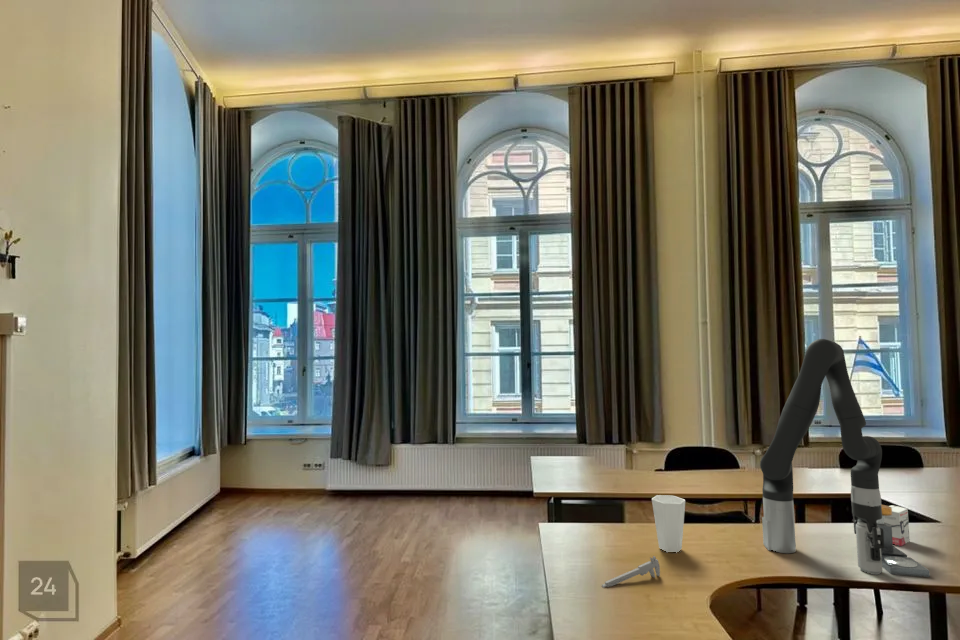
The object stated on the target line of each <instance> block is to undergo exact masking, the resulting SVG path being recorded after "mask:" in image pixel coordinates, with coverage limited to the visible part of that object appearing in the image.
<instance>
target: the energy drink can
mask: <svg viewBox="0 0 960 640" xmlns="http://www.w3.org/2000/svg"><path fill="white" fill-rule="evenodd" d="M863 526H864V527H863ZM877 526H878V525H877ZM878 528H879V527H878ZM866 531H867V532H868V534H869V536H870V537H872V532H871V533H870V532H869V531H868V527H867V523H865V522H863V521H862V520H860V519H858V522H857V524H856V534H855V538H856V554H857V566H858V568H859V569H860V571H861V570H862V571H861V572H863V571H864V572H863V573H866V572H867V573H866V574H869V573H871V574H870V575H880V574H881V572H883V567H882V555H881V549H880V559H881V560H880V561H873V560H872V559H871V551H870V543H869V541H868V540H867V539H866ZM879 541H880V540H879ZM872 542H873V540H872ZM876 544H877V543H876Z"/></svg>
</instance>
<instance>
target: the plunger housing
mask: <svg viewBox="0 0 960 640" xmlns="http://www.w3.org/2000/svg"><path fill="white" fill-rule="evenodd" d="M878 527H879V528H882V529H883V533H884V549H882V548H881V555H884V556H897V557H908V555H907V554H906V553H904V552H903V551H902V550H900V549H899V548H897V547H896V546H895V545H893V540H892V527H891V526H890V525H888V524H887V523H885V522H884V525H878Z"/></svg>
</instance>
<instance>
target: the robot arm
mask: <svg viewBox="0 0 960 640" xmlns="http://www.w3.org/2000/svg"><path fill="white" fill-rule="evenodd" d="M825 378H826V379H827V383H828V385H829V391H830V397H831V399H830V400H831V403H832V407H833V410H834V413H835V416H836V418H837V419H836V420H838V424H839V425H840V426H839V427H840V438H841V439H840V440H841V445H842V449H843V451H844V453H845V454H846V455H847V456H848V457H849V458H851V459H852V460H854V461H857V462H856V465H854V466H853V467H852V468H851V469H850V483H851V485H850V486H851V487H850V501H851V502H850V503H851V514H852V519H853V522H852V523H853V531H854V534H855V535H856V524H857V522H858V519H860V520H862V521H863V522H865V523H867V527H868V531H869V532H870V533H871V532H872V537H870V536H869V534H868V532H867V531H866V539H867V540H868V541H869V543H870V551H871V559H872V560H873V561H880V560H881V559H880V549H881V548H882V549H884V533H883V529H882V528H878V526H877V522H876V521H877V520H880V519H882V507H881V504H882V495H881V491H880V483H879V479H880V478H879V471H880V469H881V464H882V459H883V449H882V446H881V444H880V442H879V441H878V440H877V439H876V438H875V437H872V436H869V435H864V436H863V431H862V429H863V428H865V426H866V425H867V422H866V421H867V420H866V419H865V416H864V413H863V411H862V408H861V406H860V403H859V400H858V398H857V396H856V393H855V390H854V388H853V385H852V383H851V379H850V376H849V373H848V368H847V363H846V358H845V353H844V349H843V347H842V346H841V345H840V344H839V343H837V342H835V341H832V340H831V339H826V338H819V339H815V340H813V341H812V342H811V343H809V345H808V346H807V348H806V350H805V354H804V357H803V360H802V364H801V367H800V371H799V374H798V376H797V378H796V380H795V382H794V384H793V387H792V388H791V390H790V393H789V395H788V397H787V399H786V401H785V404H784V406H783V408H782V411H781V413H780V417H779V419H778V422H777V425H776V426H777V427H776V430H775V433H774V436H773V439H772V441H771V443H770V444H769V446H768V448H767V450H766V452H765V453H764V455H763V456H762V457H761V459H760V463H759V467H760V470H761V472H762V479H763V480H762V504H763V505H762V507H763V516H762V517H761V519H762V520H761V521H762V522H761V523H762V524H761V525H762V541H763V546H764V547H765V548H766V549H767V551H771V550H773V552H775V551H776V553H781V554H793V553H795V552H796V551H797V544H796V527H795V526H796V525H795V509H794V507H795V506H794V474H793V472H794V470H793V460H794V456H795V453H796V452H797V449H798V447H799V444H800V443H801V442H802V440H803V439H804V437H805V435H806V434H807V432H808V430H809V429H810V427H811V425H812V423H813V421H814V419H815V417H816V415H817V412H818V408H819V407H820V400H821V392H822V384H823V382H824V379H825ZM863 527H864V526H863ZM872 540H873V542H872ZM879 540H880V541H879ZM876 543H877V544H876Z"/></svg>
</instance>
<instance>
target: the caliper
mask: <svg viewBox="0 0 960 640" xmlns="http://www.w3.org/2000/svg"><path fill="white" fill-rule="evenodd" d="M649 559H650V560H649V561H646V562H644V563H642V564H640V565H638V566H637V567H636V568H634V569H632V570H630V571H629V570H628V571H627V572H624V573H622V574H620V575H617V576H615V577H613V578H611V579H608V580H606V581H604V583H603V584H601V587H602V588H603V589H604V588H609V587H613V586H616V585H617V584H620V583H622V582H624V581H626V580H629V579H632V578H633V577H636V576H638V575H640V576H644V575H646V574H648V573H649V574H650V576H651V577H652V578H656V576H657V577H660V576H661V568H660V563H659V560H658V559H657V558H656V556H655V555H653V556H652V557H651V556H650V557H649ZM655 574H656V575H655Z"/></svg>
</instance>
